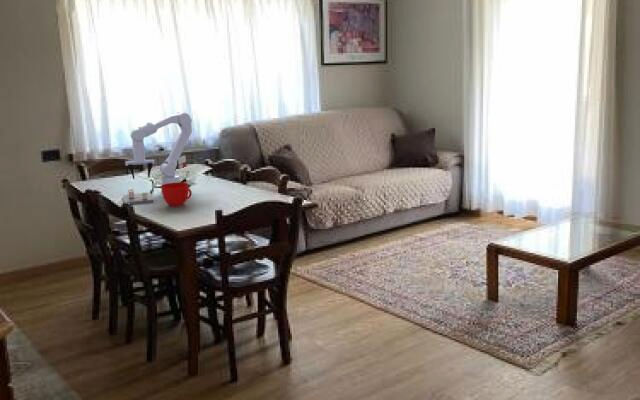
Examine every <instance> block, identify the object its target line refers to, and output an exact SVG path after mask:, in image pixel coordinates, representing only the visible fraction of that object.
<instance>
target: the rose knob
mask: <svg viewBox="0 0 640 400" xmlns="http://www.w3.org/2000/svg"><path fill="white" fill-rule="evenodd" d="M128 194H129V198H132V197H134V194H135V191H134V190H133V191H129V192H128Z"/></svg>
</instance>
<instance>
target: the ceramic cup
mask: <svg viewBox="0 0 640 400" xmlns="http://www.w3.org/2000/svg"><path fill="white" fill-rule="evenodd" d="M160 186H161V187H160V189H161V191H162V192H161V193H162V198H163V200H164V202H165V203H166V204H167V205H168V206H169V207H171V208H172V207H173V208H174V207H181V206H183V205H184V204H185V203H186V201H187V200H188V199H191V197H192V190H191V189H190V188H189V187H190V186H189V184H188V183H186V182H180V183H168V184H164V185H162V184H161V185H160Z"/></svg>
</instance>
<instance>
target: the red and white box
mask: <svg viewBox="0 0 640 400" xmlns="http://www.w3.org/2000/svg"><path fill="white" fill-rule="evenodd" d="M187 165H188V164H187V158H186V155H185V154H181V155H180V157H179V159H178V161H177V166H176V169H181V168H184V167H187ZM187 168H188V167H187Z"/></svg>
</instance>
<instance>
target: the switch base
mask: <svg viewBox="0 0 640 400" xmlns="http://www.w3.org/2000/svg"><path fill="white" fill-rule="evenodd" d="M147 197H148V199H143V198H142V192H140V193H139V192H138V193H134V197H132V198H129V193H128V194H122V199H123V203H130V204H132V205H133V206H134V205H142V204H143V205H144V204H153V203H154V202H155V200H154V197H153V194H152V193H151V192H147ZM154 204H155V203H154ZM132 205H131V206H132Z"/></svg>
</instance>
